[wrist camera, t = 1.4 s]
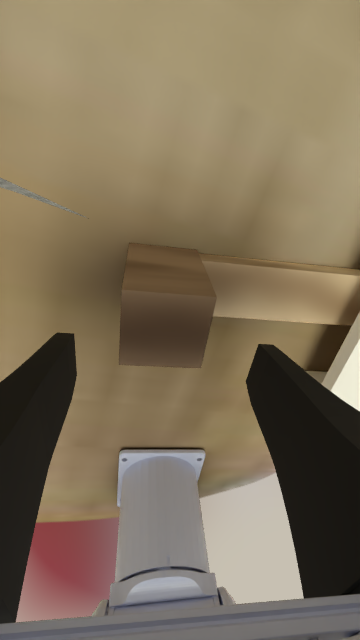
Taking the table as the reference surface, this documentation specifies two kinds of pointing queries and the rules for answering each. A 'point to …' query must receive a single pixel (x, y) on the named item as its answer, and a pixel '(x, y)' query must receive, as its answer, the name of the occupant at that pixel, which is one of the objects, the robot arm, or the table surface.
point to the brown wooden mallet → (219, 299)
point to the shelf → (345, 369)
